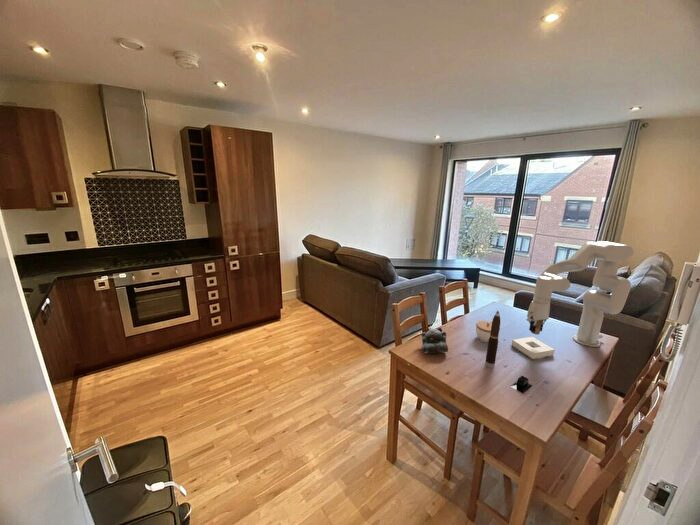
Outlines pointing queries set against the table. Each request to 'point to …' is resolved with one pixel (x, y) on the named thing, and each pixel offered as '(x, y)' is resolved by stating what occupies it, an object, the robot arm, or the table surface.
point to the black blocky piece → (522, 384)
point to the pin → (537, 327)
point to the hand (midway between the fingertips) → (535, 330)
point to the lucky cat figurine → (434, 341)
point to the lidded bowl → (483, 330)
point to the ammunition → (493, 341)
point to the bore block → (532, 348)
